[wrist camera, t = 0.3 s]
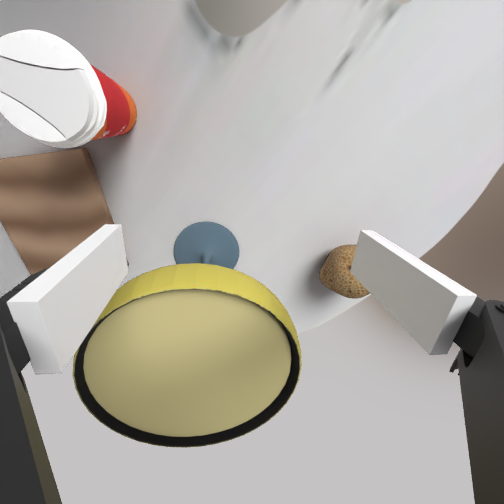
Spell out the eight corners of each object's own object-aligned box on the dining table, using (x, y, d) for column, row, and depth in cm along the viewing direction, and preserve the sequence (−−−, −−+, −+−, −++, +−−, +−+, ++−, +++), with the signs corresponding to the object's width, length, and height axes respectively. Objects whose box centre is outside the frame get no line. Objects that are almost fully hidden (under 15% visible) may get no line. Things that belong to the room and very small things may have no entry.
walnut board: (-22, 161, 34) (-33, 163, 32) (86, 147, 34) (80, 148, 33) (41, 278, 41) (35, 282, 40) (128, 264, 42) (125, 268, 41)
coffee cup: (72, 127, 33) (-28, 121, 20) (84, 58, 31) (-23, -5, 17) (138, 154, 36) (89, 165, 22) (154, 92, 33) (109, 61, 19)
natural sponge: (371, 246, 46) (408, 273, 37) (342, 285, 49) (371, 318, 40) (332, 226, 44) (361, 249, 35) (304, 267, 46) (325, 299, 37)
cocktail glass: (279, 231, 43) (348, 337, 20) (229, 310, 48) (238, 463, 26) (178, 177, 37) (117, 238, 15) (134, 273, 43) (40, 425, 20)
